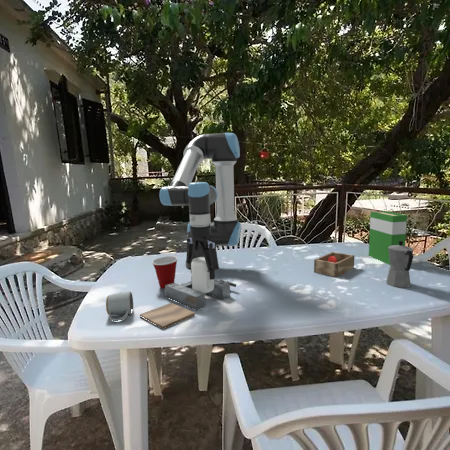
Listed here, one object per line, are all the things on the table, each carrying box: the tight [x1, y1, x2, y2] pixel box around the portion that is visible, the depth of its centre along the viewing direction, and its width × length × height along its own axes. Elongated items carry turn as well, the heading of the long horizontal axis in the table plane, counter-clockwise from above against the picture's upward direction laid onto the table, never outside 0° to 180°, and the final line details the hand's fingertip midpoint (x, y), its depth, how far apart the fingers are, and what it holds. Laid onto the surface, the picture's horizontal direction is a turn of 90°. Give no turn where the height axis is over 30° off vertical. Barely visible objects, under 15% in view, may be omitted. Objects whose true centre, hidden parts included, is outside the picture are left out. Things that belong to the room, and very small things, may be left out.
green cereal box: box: [368, 210, 408, 266], centre depth 169 cm, size 18×7×24 cm, turn 10°
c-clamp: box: [164, 276, 237, 311], centre depth 130 cm, size 18×23×5 cm
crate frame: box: [313, 251, 355, 278], centre depth 156 cm, size 11×18×6 cm, turn 136°
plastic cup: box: [151, 255, 178, 289], centre depth 139 cm, size 11×11×12 cm
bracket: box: [328, 256, 345, 275], centre depth 156 cm, size 12×4×8 cm, turn 10°
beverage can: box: [190, 257, 214, 294], centre depth 125 cm, size 8×8×12 cm
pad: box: [139, 302, 196, 329], centre depth 112 cm, size 13×13×1 cm
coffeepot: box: [386, 241, 414, 288], centre depth 134 cm, size 15×9×18 cm, turn 179°
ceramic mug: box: [105, 291, 134, 321], centre depth 112 cm, size 11×8×8 cm
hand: (202, 284), depth 125 cm, fingers closed on beverage can, 8 cm apart
